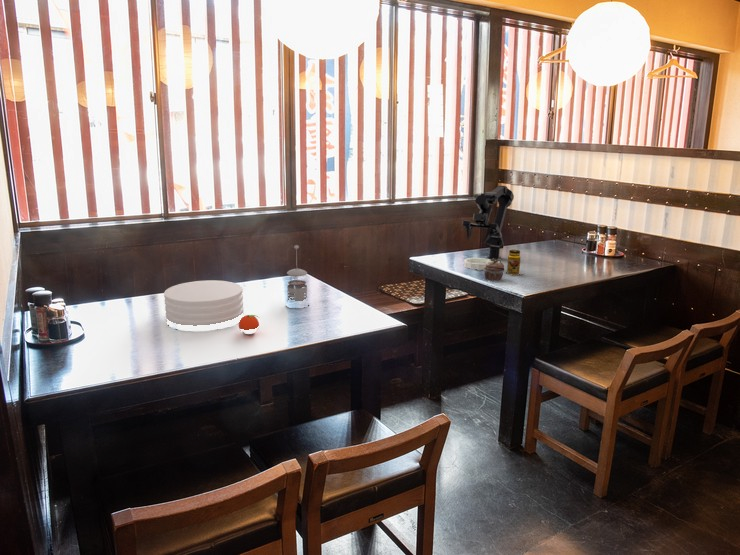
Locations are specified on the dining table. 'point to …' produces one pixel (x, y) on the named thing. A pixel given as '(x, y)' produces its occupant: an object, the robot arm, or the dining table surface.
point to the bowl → (476, 263)
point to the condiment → (513, 262)
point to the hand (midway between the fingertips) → (476, 240)
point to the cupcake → (494, 270)
